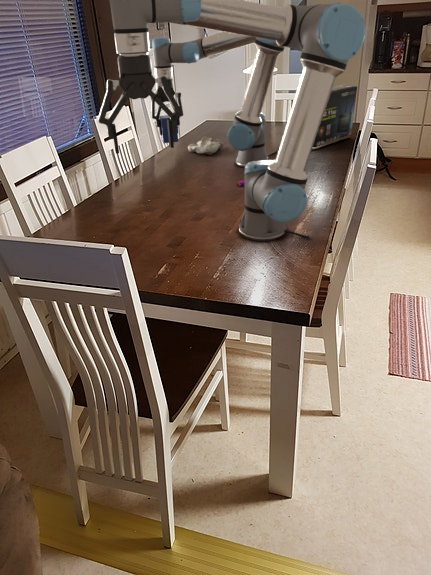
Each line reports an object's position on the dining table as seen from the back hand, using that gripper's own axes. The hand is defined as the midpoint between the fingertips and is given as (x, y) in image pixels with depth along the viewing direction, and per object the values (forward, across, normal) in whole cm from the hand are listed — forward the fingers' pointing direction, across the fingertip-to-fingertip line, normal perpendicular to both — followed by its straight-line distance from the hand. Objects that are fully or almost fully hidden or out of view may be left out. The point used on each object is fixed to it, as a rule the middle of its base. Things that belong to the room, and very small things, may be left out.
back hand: (168, 133), depth 209 cm
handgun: (+16, +25, -45) cm, 54 cm away
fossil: (+16, +22, +21) cm, 34 cm away
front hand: (-18, -22, -96) cm, 101 cm away
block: (+3, 0, 0) cm, 3 cm away
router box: (+16, +86, +12) cm, 88 cm away
